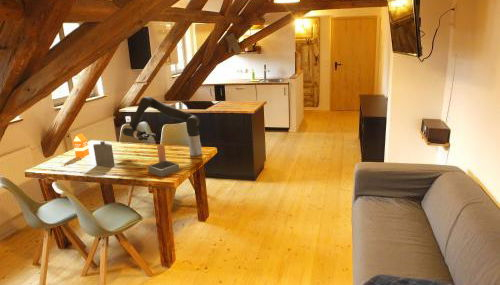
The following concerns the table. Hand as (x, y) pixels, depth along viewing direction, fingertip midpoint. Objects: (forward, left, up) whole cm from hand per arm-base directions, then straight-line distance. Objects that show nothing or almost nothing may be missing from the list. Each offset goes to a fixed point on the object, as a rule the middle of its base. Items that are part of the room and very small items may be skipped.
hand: (151, 137), depth 294 cm
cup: (0, +11, -20) cm, 23 cm away
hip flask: (+29, -25, -20) cm, 43 cm away
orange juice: (+28, -67, -20) cm, 75 cm away
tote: (+10, +26, -20) cm, 34 cm away
